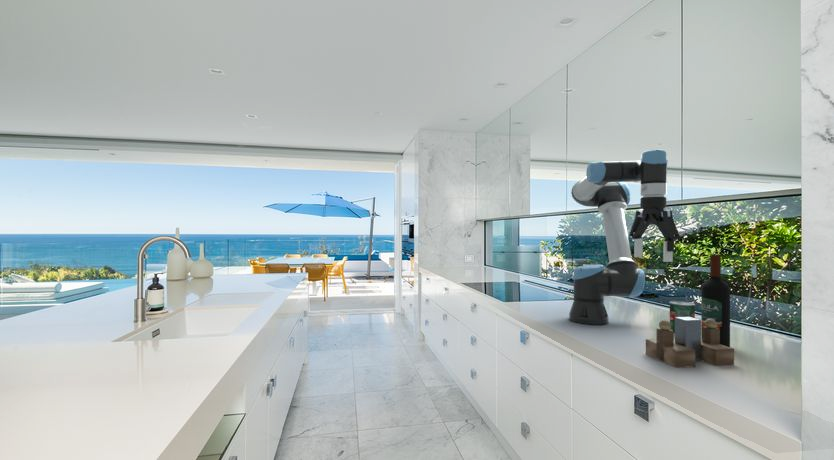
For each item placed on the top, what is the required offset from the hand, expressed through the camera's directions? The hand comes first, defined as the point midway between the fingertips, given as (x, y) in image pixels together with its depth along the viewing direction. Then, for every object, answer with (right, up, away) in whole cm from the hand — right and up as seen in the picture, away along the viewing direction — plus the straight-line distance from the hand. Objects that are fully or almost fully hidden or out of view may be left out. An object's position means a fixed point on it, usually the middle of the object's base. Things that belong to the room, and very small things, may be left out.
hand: (652, 259), depth 131 cm
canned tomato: (+19, -28, +13) cm, 36 cm away
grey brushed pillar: (0, -28, -17) cm, 33 cm away
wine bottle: (+19, -28, -3) cm, 34 cm away
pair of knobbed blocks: (0, -28, -17) cm, 33 cm away
